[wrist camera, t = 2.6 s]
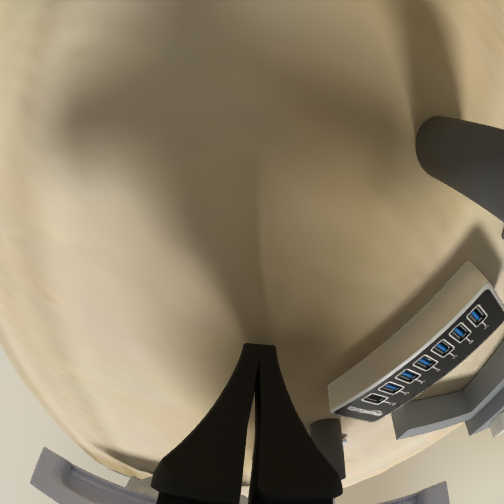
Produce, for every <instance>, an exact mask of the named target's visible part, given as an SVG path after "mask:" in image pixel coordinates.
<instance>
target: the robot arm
mask: <svg viewBox="0 0 504 504" xmlns="http://www.w3.org/2000/svg"><path fill="white" fill-rule="evenodd" d="M254 392H255V442H254V452H253V462H252V471H251V480H250V488H249V496H248V504H335V498H336V497H338V496H340V495H341V494H342V493H343V488H342V483H341V479H340V477H339V474H338V472H337V471H336V470H335V469H334V468H333V466H332V465H331V464H330V463H329V462H328V460H327V459H326V458H325V457H324V455H323V454H322V453H321V451H320V450H319V449H318V447H317V446H316V444H315V443H314V441H313V440H312V438H311V437H310V435H309V434H308V432H307V430H306V429H305V427H304V425H303V423H302V422H301V420H300V418H299V416H298V414H297V412H296V410H295V408H294V406H293V403H292V401H291V399H290V396H289V394H288V391H287V389H286V386H285V383H284V380H283V377H282V374H281V371H280V367H279V363H278V359H277V353H276V347H275V346H274V345H263V344H252V343H245V344H244V345H243V350H242V353H241V356H240V358H239V361H238V363H237V366H236V368H235V370H234V372H233V374H232V376H231V378H230V380H229V382H228V383H227V385H226V387H225V388H224V390H223V392H222V393H221V395H220V396H219V398H218V399H217V401H216V402H215V404H214V405H213V407H212V408H211V409H210V411H209V412H208V413H207V415H206V416H205V417H204V418H203V419H202V421H201V422H200V423H199V424H198V425H197V427H196V428H195V429H194V430H193V431H192V432H191V433H190V434H189V435H188V436H187V437H186V438H185V439H184V440H183V441H182V442H181V443H180V444H179V445H178V446H177V447H175V448H174V449H173V450H172V451H171V452H170V453H168V454H167V455H166V456H165V457H164V458H163V459H162V460H161V461H160V463H159V464H158V466H157V468H156V469H155V471H154V474H153V477H152V481H151V484H150V486H151V487H152V488H153V489H155V490H156V491H158V492H159V494H158V498H156V497H152V496H149V495H146V494H143V493H140V492H137V491H134V490H131V489H128V488H125V487H123V486H120V485H117V484H114V483H112V482H110V481H107V480H105V479H103V478H100V477H98V476H96V475H94V474H91V473H89V472H87V471H85V470H83V469H81V468H79V467H77V466H75V465H73V464H71V462H69V461H68V460H66V459H64V458H63V457H61V456H59V455H58V454H56V453H54V452H52V451H51V450H49V449H47V448H46V447H44V448H43V450H42V453H41V455H40V458H39V460H38V463H37V465H36V468H35V470H34V473H33V476H32V478H31V481H30V483H31V484H32V485H33V486H35V487H36V488H37V489H39V490H40V491H42V492H43V493H45V494H46V495H47V496H49V497H50V498H52V499H53V500H55V501H56V502H58V503H59V504H239V502H240V494H241V485H242V476H243V466H244V456H245V446H246V436H247V427H248V421H249V417H250V412H251V407H252V402H253V397H254ZM342 441H343V446H344V445H345V444H346V443H347V439H345V438H342ZM379 504H449V497H448V490H447V483H446V481H444V482H441V483H439V484H436V485H434V486H431V487H428V488H426V489H423V490H421V491H419V492H417V493H415V494H411V495H408V496H405V497H402V498H398V499H395V500H391V501H387V502H383V503H379Z"/></svg>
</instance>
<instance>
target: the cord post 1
mask: <svg viewBox="0 0 504 504" xmlns="http://www.w3.org/2000/svg"><path fill="white" fill-rule="evenodd" d="M310 431H311V438H312V440H313V441H314V443H315V444H316V446H317V447H318V449H319V450H320V451H321V453H322V454H323V455H324V457H325V458H326V459H327V460H328V462H329V463H330V464H331V465H332V466H333V468H334V469H335V470H336V471H337V472H338V474H339V477H340V479H341V480H342V479H344V478H346V475H345V463H344V452H343V441H342V432H341V423H340V421H339V420H337V419H324V420H319V421H316V422H314V423H313V424H311V426H310Z"/></svg>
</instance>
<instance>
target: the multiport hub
mask: <svg viewBox="0 0 504 504" xmlns="http://www.w3.org/2000/svg"><path fill="white" fill-rule="evenodd" d="M503 322H504V304H503V303H502V301H501V299H500V298H499V296H498V294H497V293H496V291H495V289H494V288H493V286H492V285H491V284H490V282H489V281H488V280H487V279H486V278H485V277H484V275H483V274H482V273H481V272H480V271H479V270H478V269H477V268H476V266H475V265H474V264H473V263H472V262H471V261H467V262H465V263H464V264H463V265H462V266H461V267H460V268H459V269H458V270H457V272H456V273H455V274H454V275H453V276H452V277H451V278H450V279H449V281H448V282H447V283H446V284H445V285H444V286H443V287H442V288H441V289H440V290H439V291H438V292H437V293H436V294H435V296H434V297H433V298H432V299H431V300H430V301H429V302H428V303H427V304H426V305H425V306H424V307H423V308H422V309H421V310H420V311H418V312H417V313H416V314H415V315H414V316H413V317H412V318H411V319H410V320H409V321H408V322H407V323H406V324H405V325H404V326H402V327H401V328H400V329H399V330H398V331H397V332H396V333H395V334H393V335H392V336H391V337H390V338H389V339H388V340H386V341H385V342H384V343H383V344H382V345H380V346H379V347H378V348H377V349H375V350H374V351H373V352H372V353H371V354H369V355H368V356H367V357H365V358H364V359H363V360H362V361H360V362H359V363H358V364H356V365H355V366H354V367H352V368H351V369H350V370H348V371H347V372H345V373H344V374H343V375H341V376H340V377H338V378H337V379H336V380H334V381H333V382H331V383H330V384H329V385H328V386H327V388H328V397H329V408H330V413H331V414H334V415H338V416H342V417H347V418H351V419H356V420H361V421H366V422H374V421H377V420H379V419H381V418H383V417H384V416H386V415H388V414H390V413H391V412H393V411H395V410H396V409H398V408H399V407H401V406H403V405H404V404H406V403H407V402H409V401H410V400H412V399H414V398H415V397H416V396H418V395H419V394H421V393H422V392H424V391H425V390H427V389H428V388H429V387H431V386H432V385H434V384H435V383H436V382H438V381H439V380H440V379H442V378H443V377H444V376H445V375H447V374H448V373H449V372H450V371H452V370H453V369H454V368H455V367H457V366H458V365H459V364H460V363H461V362H462V361H464V360H465V359H466V358H467V357H468V356H469V355H470V354H472V353H473V352H474V351H475V350H476V349H477V348H478V347H479V346H480V345H481V344H482V343H483V342H484V341H485V340H486V339H487V338H488V337H489V336H490V335H491V334H492V333H493V332H494V331H495V330H496V329H497V328H498V327H499V326H500V325H501V324H502V323H503Z"/></svg>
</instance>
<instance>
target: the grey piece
mask: <svg viewBox="0 0 504 504" xmlns="http://www.w3.org/2000/svg"><path fill="white" fill-rule="evenodd" d="M502 238H503V239H504V232H503V235H502ZM391 416H392V420H393V425H394V430H395V434H396V439H397V440H398V439H403V438H407V437H412V436H416V435H420V434H424V433H428V432H432V431H435V430H439V429H442V428H445V427H449V426H452V425H455V424H458V423H461V422H464V421H465V423H466V426H467V429H468V433H469V436H470V435H472V434H475V433H477V432H479V431H482V430H484V429H486V428H488V427H490V428H491V431H492V434H493V437H496V436H498V435H499V434H501V433H502V432H504V339H503V341H502V342H501V343H500V345H499V346H498V348H497V349H496V350H495V352H494V353H493V354H492V356H491V357H490V358H489V360H488V361H487V362H486V364H485V365H484V366H483V367H482V369H481V370H480V371H479V372H478V373H477V375H476V376H475V377H474V378H473V379H472V380H471V382H470V383H469V384H468V385H467V386H466V387H465V388H464V389H463V390H462V391H458V392H454V393H450V394H446V395H441V396H437V397H432V398H427V399H421V400H416V401H410V402H407V403H406V404H404V405H403V406H401V407H399V408H398V409H396V410H395V411H394V412H393V413H392V414H391Z"/></svg>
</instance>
